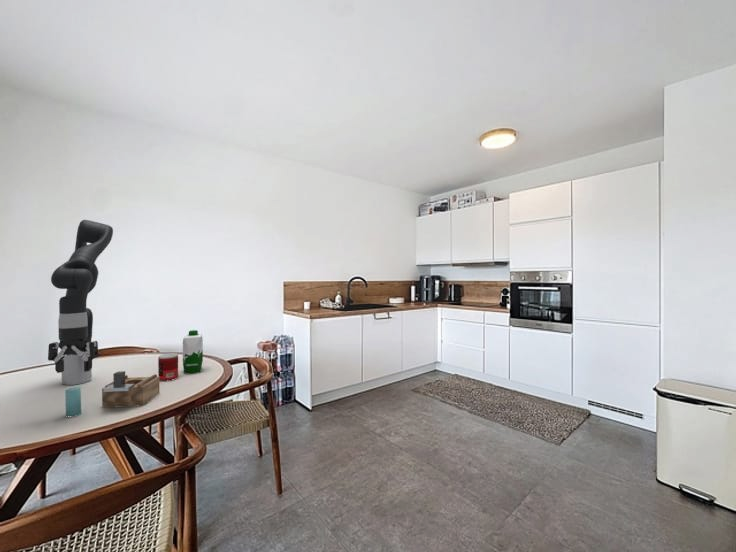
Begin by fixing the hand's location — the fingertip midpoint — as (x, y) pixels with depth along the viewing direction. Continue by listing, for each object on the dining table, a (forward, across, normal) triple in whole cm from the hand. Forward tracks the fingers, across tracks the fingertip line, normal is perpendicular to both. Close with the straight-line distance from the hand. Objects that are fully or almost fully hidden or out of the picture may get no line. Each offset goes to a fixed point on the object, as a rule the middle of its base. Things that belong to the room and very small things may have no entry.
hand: (73, 371), depth 113 cm
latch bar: (+8, -13, -3) cm, 15 cm away
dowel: (+15, 0, 0) cm, 15 cm away
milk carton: (+15, -22, -46) cm, 53 cm away
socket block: (+15, -13, -11) cm, 23 cm away
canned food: (+15, -15, -36) cm, 42 cm away
